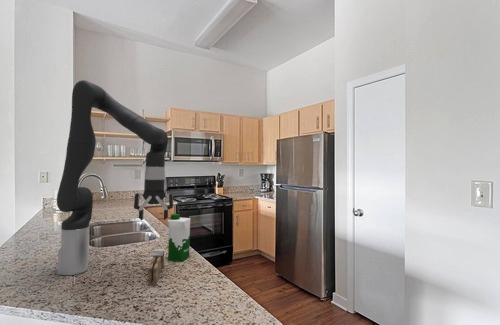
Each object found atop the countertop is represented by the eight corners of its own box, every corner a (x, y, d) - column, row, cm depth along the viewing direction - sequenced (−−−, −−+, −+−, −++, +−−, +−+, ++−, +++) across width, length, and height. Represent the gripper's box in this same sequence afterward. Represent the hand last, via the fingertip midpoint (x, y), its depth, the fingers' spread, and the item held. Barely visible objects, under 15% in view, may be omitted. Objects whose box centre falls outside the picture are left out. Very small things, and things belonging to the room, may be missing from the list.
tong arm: (154, 268, 105) (155, 254, 105) (161, 267, 105) (161, 253, 106) (147, 285, 89) (148, 269, 90) (156, 284, 90) (156, 268, 90)
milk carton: (174, 254, 123) (175, 212, 123) (192, 256, 121) (192, 213, 121) (164, 261, 114) (165, 215, 115) (183, 262, 112) (184, 216, 113)
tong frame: (153, 265, 108) (154, 249, 109) (163, 265, 109) (164, 248, 109) (146, 286, 89) (146, 266, 89) (158, 285, 90) (159, 265, 90)
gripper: (133, 178, 96) (131, 222, 95) (173, 179, 99) (171, 221, 98) (137, 177, 103) (136, 218, 103) (174, 178, 106) (173, 217, 106)
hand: (153, 219), depth 100 cm, fingers open, 8 cm apart
